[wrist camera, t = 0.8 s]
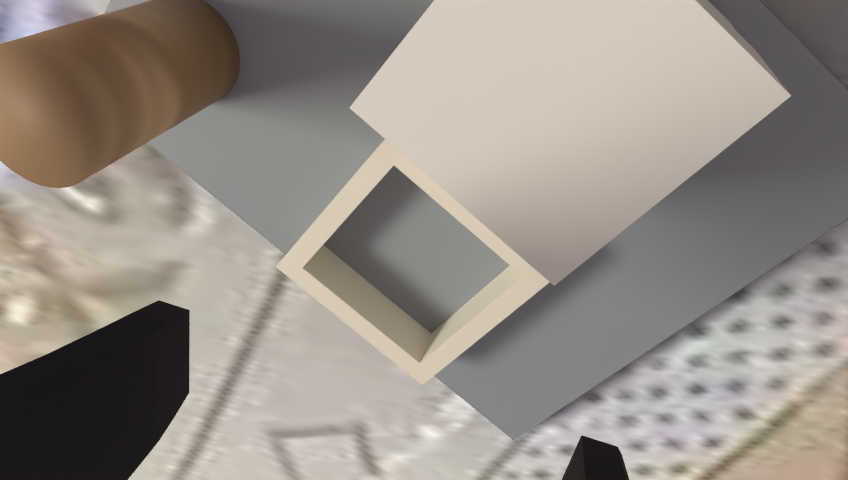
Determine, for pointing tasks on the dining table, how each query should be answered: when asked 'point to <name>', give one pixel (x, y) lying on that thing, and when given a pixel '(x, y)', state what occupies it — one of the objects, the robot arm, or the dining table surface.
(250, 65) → the board
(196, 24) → the peg
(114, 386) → the robot arm
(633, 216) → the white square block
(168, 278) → the dining table surface
